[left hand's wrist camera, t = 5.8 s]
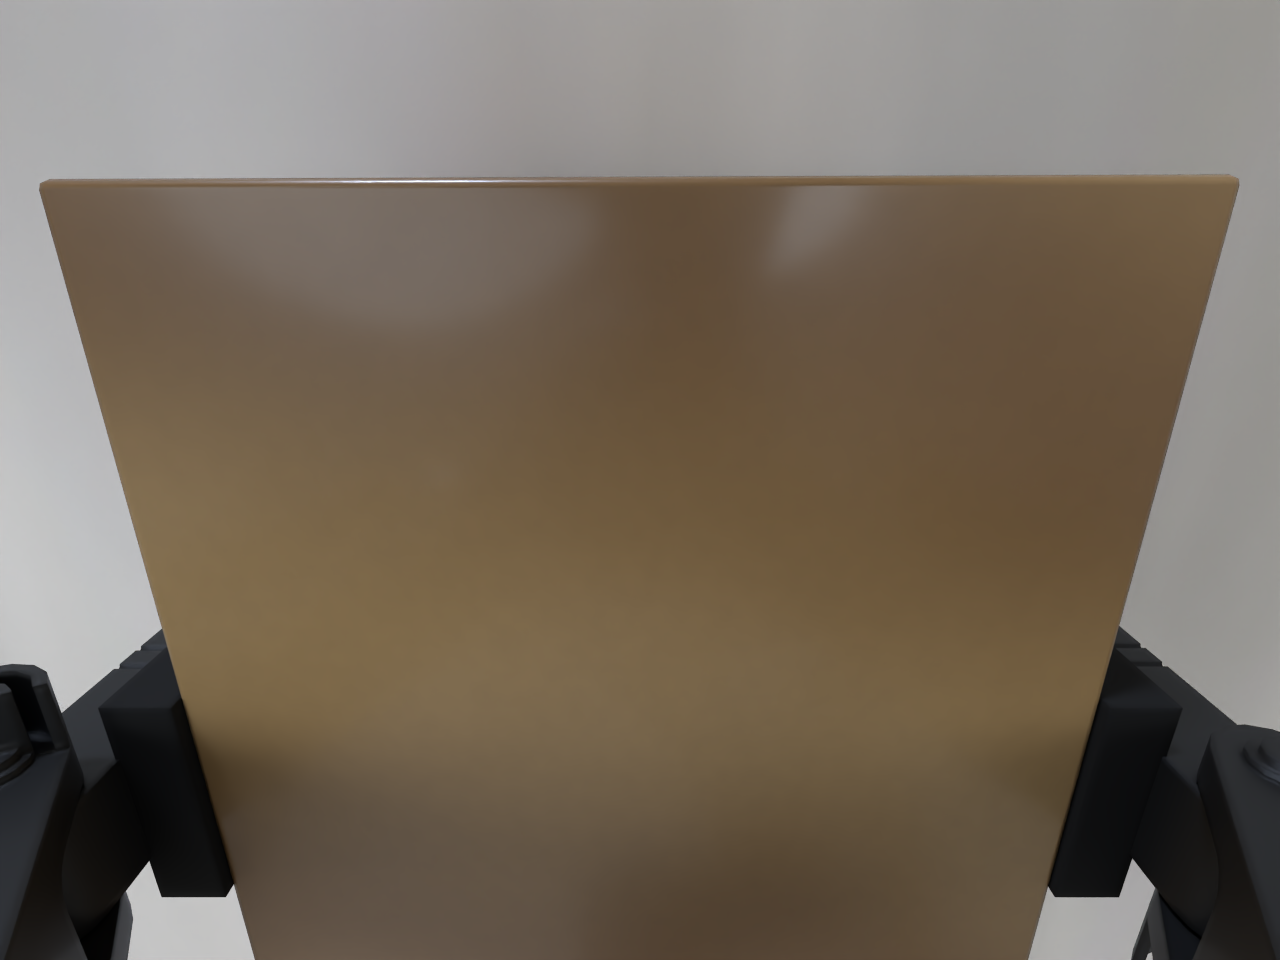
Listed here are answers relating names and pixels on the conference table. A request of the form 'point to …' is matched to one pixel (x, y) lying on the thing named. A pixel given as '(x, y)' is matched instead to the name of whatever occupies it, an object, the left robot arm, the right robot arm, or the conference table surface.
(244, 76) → the conference table surface
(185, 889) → the left robot arm
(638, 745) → the thick board
